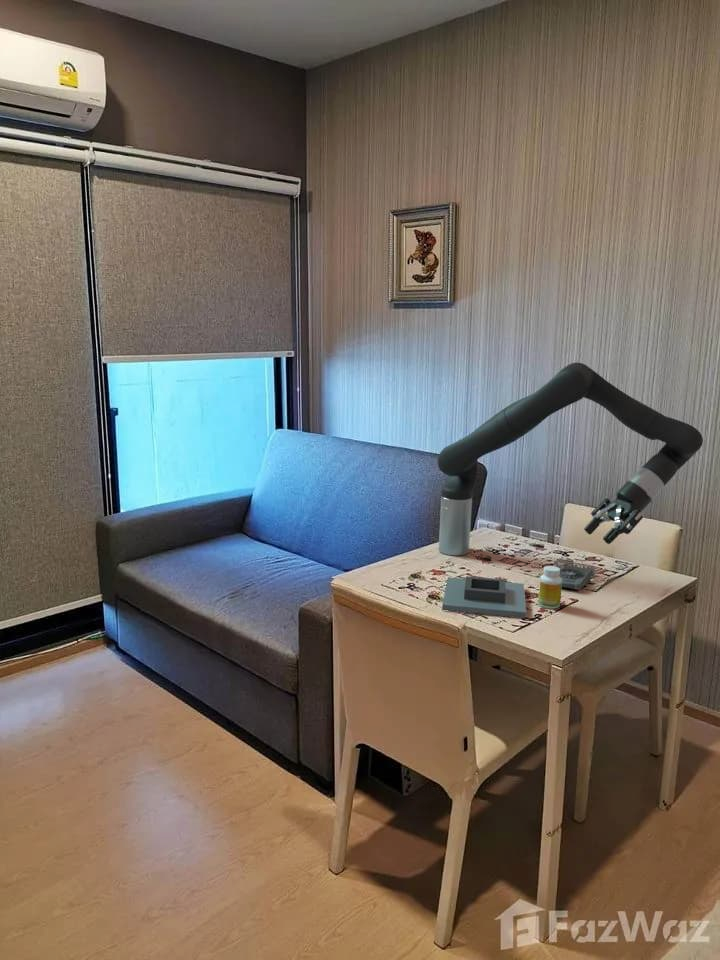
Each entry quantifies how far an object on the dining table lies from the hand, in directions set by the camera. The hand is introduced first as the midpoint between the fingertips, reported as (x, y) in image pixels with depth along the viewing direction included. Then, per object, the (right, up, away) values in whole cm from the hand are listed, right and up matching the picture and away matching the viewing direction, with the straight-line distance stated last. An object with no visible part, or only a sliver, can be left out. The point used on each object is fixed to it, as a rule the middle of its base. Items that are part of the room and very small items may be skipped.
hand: (596, 536), depth 186 cm
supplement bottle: (-12, -17, 0) cm, 21 cm away
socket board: (-27, -16, +3) cm, 32 cm away
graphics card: (-2, -14, +19) cm, 23 cm away
